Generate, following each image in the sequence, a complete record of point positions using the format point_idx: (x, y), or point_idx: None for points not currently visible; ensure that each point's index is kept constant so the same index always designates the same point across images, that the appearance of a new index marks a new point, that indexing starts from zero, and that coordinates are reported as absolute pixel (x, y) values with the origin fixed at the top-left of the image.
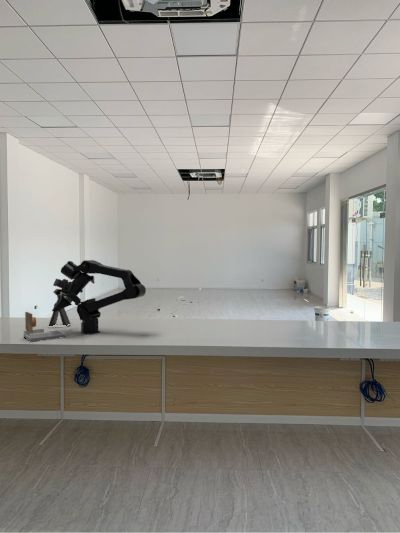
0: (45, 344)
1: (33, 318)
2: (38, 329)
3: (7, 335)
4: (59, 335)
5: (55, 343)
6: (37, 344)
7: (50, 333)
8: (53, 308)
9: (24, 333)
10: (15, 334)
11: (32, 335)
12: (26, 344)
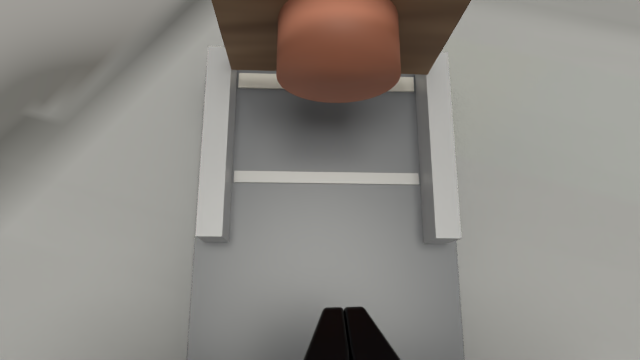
0: (33, 148)
1: (307, 24)
2: (433, 182)
3: (602, 10)
4: (189, 332)
5: (2, 226)
6: (85, 98)
7: (343, 284)
8: (359, 338)
9: None
10: (612, 66)
11: (209, 72)
12: (151, 36)
